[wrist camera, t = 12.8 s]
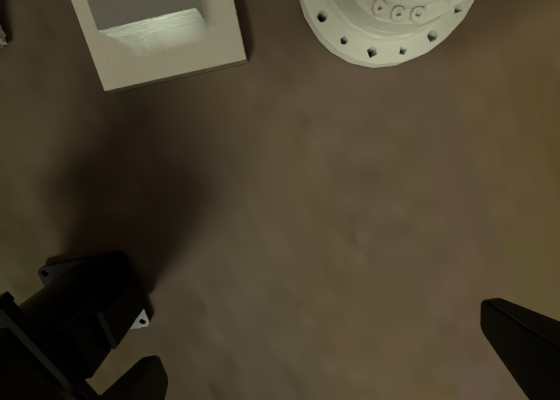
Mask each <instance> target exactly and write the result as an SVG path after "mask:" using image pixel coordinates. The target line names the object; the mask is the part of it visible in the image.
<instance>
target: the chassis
mask: <svg viewBox="0 0 560 400" xmlns="http://www.w3.org/2000/svg"><path fill="white" fill-rule="evenodd" d="M72 3H73V6H74V9H75V11H76V14H77V17H78V20H79V22H80V25H81V28H82V31H83V33H84V36H85V39H86V42H87V44H88V47H89V50H90V52H91V55H92V58H93V61H94V63H95V66H96V69H97V72H98V74H99V77H100V80H101V83H102V85H103V88H104V91H107V92H113V93H115V92H120V91H124V90H129V89H133V88H138V87H142V86H147V85H151V84H156V83H160V82H165V81H169V80H173V79H178V78H182V77H187V76H191V75H196V74H200V73H205V72H209V71H214V70H218V69H223V68H227V67H231V66H236V65H240V64H245V63H248V60H247V56H246V51H245V46H244V42H243V37H242V32H241V28H240V23H239V18H238V14H237V9H236V4H235V0H72Z"/></svg>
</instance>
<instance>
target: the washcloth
mask: <svg viewBox="0 0 560 400" xmlns="http://www.w3.org/2000/svg"><path fill="white" fill-rule="evenodd" d="M5 37H6V35H5V33H4V31H3V30H2V27H1V25H0V48H2V47H4V45H7V43H6V40H5Z"/></svg>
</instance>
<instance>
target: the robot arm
mask: <svg viewBox="0 0 560 400" xmlns="http://www.w3.org/2000/svg"><path fill="white" fill-rule="evenodd" d="M116 257H118V258H119V259H120V260H118V259H117V258H116ZM46 271H47V272H48V273H47V272H46ZM38 275H39V277H40V279H41V280H42V282H43V284H44V286H45V287H44V288H42V289H41V290H40V291H38V292H37V293H36V294H34V295H33V296H31V297H30V298H29V299H27V300H26V301H24V302H23V303H22V304H20V305H19V306H18V305H17V304H16V303H15V302H14V301H13V300H14V298H13V296H12V295H11V294H10V293H9V292H8V291H7V292H5V293H3V294H1V295H0V400H165V395H166V391H167V386H168V377H167V374H166V372H165V369H164V367H163V364H162V362H161V360H160V358H159V357H158V356H156V355H154V356H148V357H144V358H142V359H140V360H139V361H138V362H137V363H136V364H135V365H134V366H133V367H131V368H130V369H129V370H128V371H127V372H126V373H125V374H124V375H123V376H122V377H120V378H119V379H118V380H117V381H116V382H115V383H114V384H113V385H112V386H111V387H110V388H108V389H107V390H106V391H105V392H104V393H103V394H102V395H98V394H97V392H96V391H95V390H94V389H93V388H92V387H91V386H90V385H89V384H88V383H87V381H86V380H85V379H87V378H91V377H92V376H93V375H94V373H95V372H96V371H97V369H98V368H99V366H100V365H101V364H102V362H103V361H104V360H105V358H106V357H107V355H108V354H109V353H110V351H111V350H112V349H115V348H117V346H118V345H119V343H120V342H121V341H122V339H123V338H124V336H125V335H126V333H127V332H128V331H129V330H130V329H135V328H141V327H146V326H147V325H148V324H149V323H150V321H151V316H150V313H149V311H148V308H147V306H146V302H145V300H144V298H143V295H142V293H141V290H140V288H139V285H138V283H137V281H136V278H135V277H134V275H133V272H132V270H131V267H130V265H129V262H128V260H127V258H126V255H125V254H124V253H123V252H121V251H115V252H110V253H105V254H100V255H94V256H89V257H84V258H79V259H74V260H68V261H63V262H58V263H53V264H47V265H44V266H43V267H41V268H40V269H39V270H38ZM143 319H144V320H145V321H144V320H143ZM480 324H481V329H482V332H483V334H484V335H485V337H486V338H487V340H488V341H489V343H490V344H491V345H492V347H493V348H494V350H495V351H496V353H497V354H498V356H499V357H500V359H501V360H502V362H503V363H504V364H505V366H506V367H507V369H508V370H509V372H510V373H511V375H512V376H513V378H514V379H515V381H516V382H517V383H518V385H519V386H520V388H521V389H522V390H523V392H524V393H525V395H526V396H527V397H528V399H529V400H560V321H557V320H555V319H552V318H550V317H547V316H545V315H542V314H539V313H537V312H534V311H532V310H529V309H527V308H524V307H522V306H519V305H517V304H514V303H512V302H509V301H507V300H504V299H501V298H492V299H486V300H483V301H482V302H481V319H480Z"/></svg>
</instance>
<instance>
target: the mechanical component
mask: <svg viewBox="0 0 560 400" xmlns="http://www.w3.org/2000/svg"><path fill="white" fill-rule="evenodd" d="M473 2H474V0H300V4H301V7H302V10H303V14H304V17H305V19H306V20H307V22H308V24H309V25H310V27H311V29H312V30H313V32H314V34H315V35H316V37H317V38H318V40H319V41H320V42H321V43H322V44H323V45H324V46H325V47H326V48H327V49H328V50H329V51H330V52H332V53H333V54H335V55H337V56H339V57H340V58H342V59H344V60H345V61H347V62H349V63H352V64H357V65H362V66H366V67H371V68H377V67H386V66H395V65H398V64H400V63H403V62H405V61H408V60H411V59H413V58H416V57H418V56H420V55H422V54H425V53H427V52H429V51H430V50H431V49H432V48H434V47H435V46H436V45H438V44H439V43H440V42H442V41H443V40H444V39H445V38H446V37H447V36H448V35H449V34H450V33H451V32H452V31H453V30H454V29H455V28H456V27H457V25H458V24H459V23H460V22H461V21H462V20H463V19H464V17H465V16H466V14H467V12H468V10H469V9H470V7H471V5H472V3H473ZM319 17H321V18H322V19H323V21H324V22H321V23H320V21H319V20H318V18H319ZM341 42H342V43H343V44H341ZM368 52H370V58H369V55H368Z"/></svg>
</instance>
